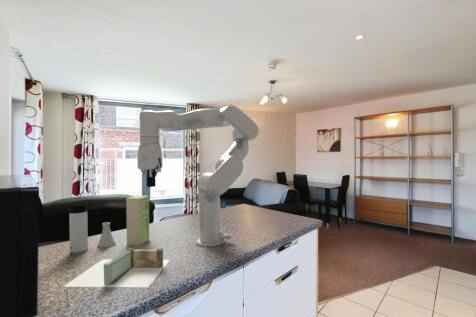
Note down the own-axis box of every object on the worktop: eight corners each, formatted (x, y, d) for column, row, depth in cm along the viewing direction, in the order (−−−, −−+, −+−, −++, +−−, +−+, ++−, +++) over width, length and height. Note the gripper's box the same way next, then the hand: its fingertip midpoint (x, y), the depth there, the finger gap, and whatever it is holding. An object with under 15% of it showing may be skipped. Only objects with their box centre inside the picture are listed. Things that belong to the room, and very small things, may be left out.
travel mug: (68, 256, 99) (67, 206, 99) (71, 251, 105) (70, 203, 105) (87, 253, 102) (86, 204, 102) (88, 248, 107) (87, 202, 107)
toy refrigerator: (141, 245, 109) (140, 198, 109) (126, 245, 111) (125, 198, 111) (151, 240, 117) (150, 195, 117) (137, 239, 119) (136, 195, 119)
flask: (101, 243, 114) (101, 221, 114) (118, 242, 115) (117, 220, 115) (94, 248, 107) (93, 225, 107) (111, 248, 107) (111, 225, 107)
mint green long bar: (127, 267, 87) (126, 249, 87) (131, 267, 86) (130, 250, 86) (104, 284, 75) (103, 264, 75) (108, 284, 75) (108, 264, 75)
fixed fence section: (163, 265, 88) (162, 248, 88) (161, 267, 86) (161, 250, 86) (129, 265, 89) (129, 248, 89) (127, 267, 87) (127, 250, 87)
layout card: (170, 260, 93) (170, 259, 93) (148, 288, 73) (148, 287, 73) (102, 260, 94) (102, 259, 94) (62, 287, 74) (62, 286, 74)
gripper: (129, 142, 102) (131, 187, 102) (155, 140, 94) (157, 188, 94) (144, 143, 108) (146, 185, 108) (170, 141, 101) (171, 186, 101)
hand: (151, 186), depth 101 cm, fingers closed
